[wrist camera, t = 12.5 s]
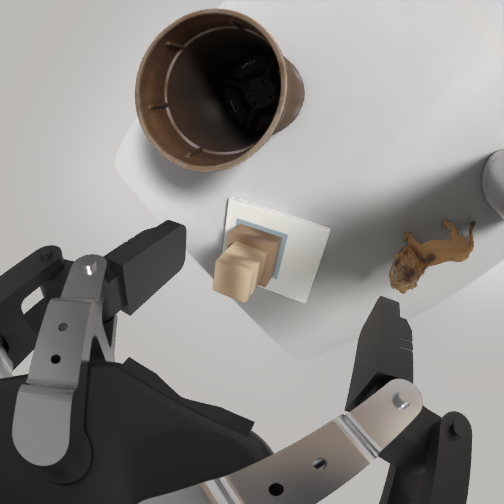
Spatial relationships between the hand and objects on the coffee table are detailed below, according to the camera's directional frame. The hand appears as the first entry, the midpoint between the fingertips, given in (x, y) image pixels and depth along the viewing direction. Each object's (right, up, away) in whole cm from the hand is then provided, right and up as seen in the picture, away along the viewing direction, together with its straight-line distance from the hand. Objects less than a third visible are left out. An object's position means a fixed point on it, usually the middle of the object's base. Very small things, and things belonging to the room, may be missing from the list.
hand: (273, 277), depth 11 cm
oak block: (-1, 0, +32) cm, 32 cm away
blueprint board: (+2, +1, +35) cm, 36 cm away
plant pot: (0, +23, +25) cm, 34 cm away
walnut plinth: (0, +1, +35) cm, 35 cm away
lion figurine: (+25, +3, +25) cm, 35 cm away
